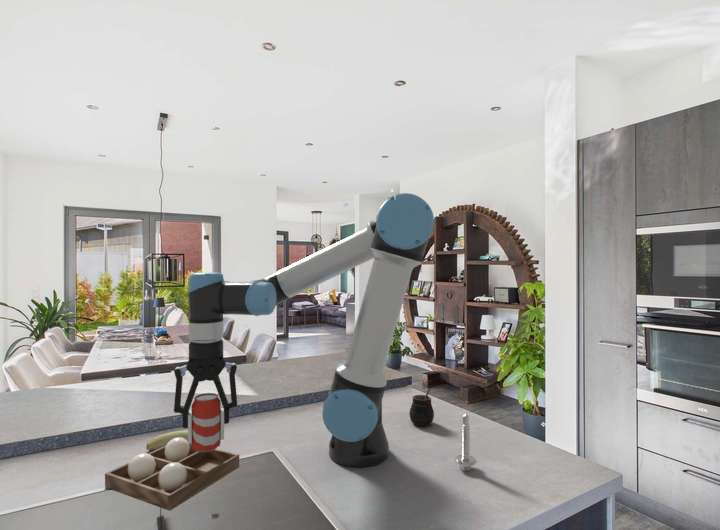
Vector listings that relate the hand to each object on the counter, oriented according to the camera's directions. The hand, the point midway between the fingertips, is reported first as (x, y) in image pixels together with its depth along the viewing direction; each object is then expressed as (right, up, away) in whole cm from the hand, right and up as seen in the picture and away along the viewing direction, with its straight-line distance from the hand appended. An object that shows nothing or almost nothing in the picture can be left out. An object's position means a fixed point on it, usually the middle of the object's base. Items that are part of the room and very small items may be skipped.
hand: (206, 439), depth 101 cm
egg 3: (-4, -7, -9) cm, 12 cm away
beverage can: (0, -2, 0) cm, 2 cm away
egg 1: (-13, -7, -4) cm, 15 cm away
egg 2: (-8, -7, +4) cm, 12 cm away
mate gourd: (+54, -7, +30) cm, 62 cm away
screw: (+60, -8, +2) cm, 61 cm away
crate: (-6, -8, -2) cm, 10 cm away
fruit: (-12, -8, +14) cm, 20 cm away
